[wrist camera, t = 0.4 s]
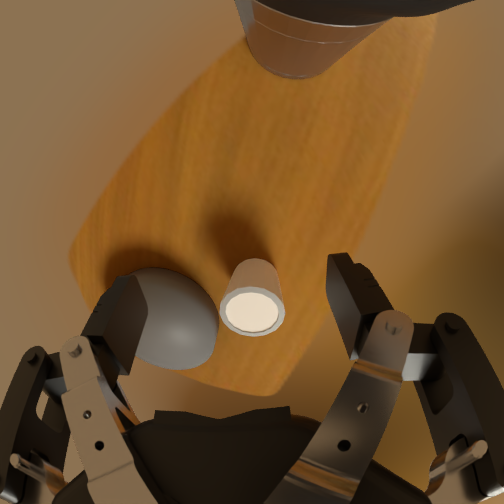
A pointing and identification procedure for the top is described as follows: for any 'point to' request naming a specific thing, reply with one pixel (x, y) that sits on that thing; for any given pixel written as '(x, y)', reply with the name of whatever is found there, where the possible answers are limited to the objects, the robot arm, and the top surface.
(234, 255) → the top surface
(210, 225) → the top surface
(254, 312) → the white cup
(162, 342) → the stand
